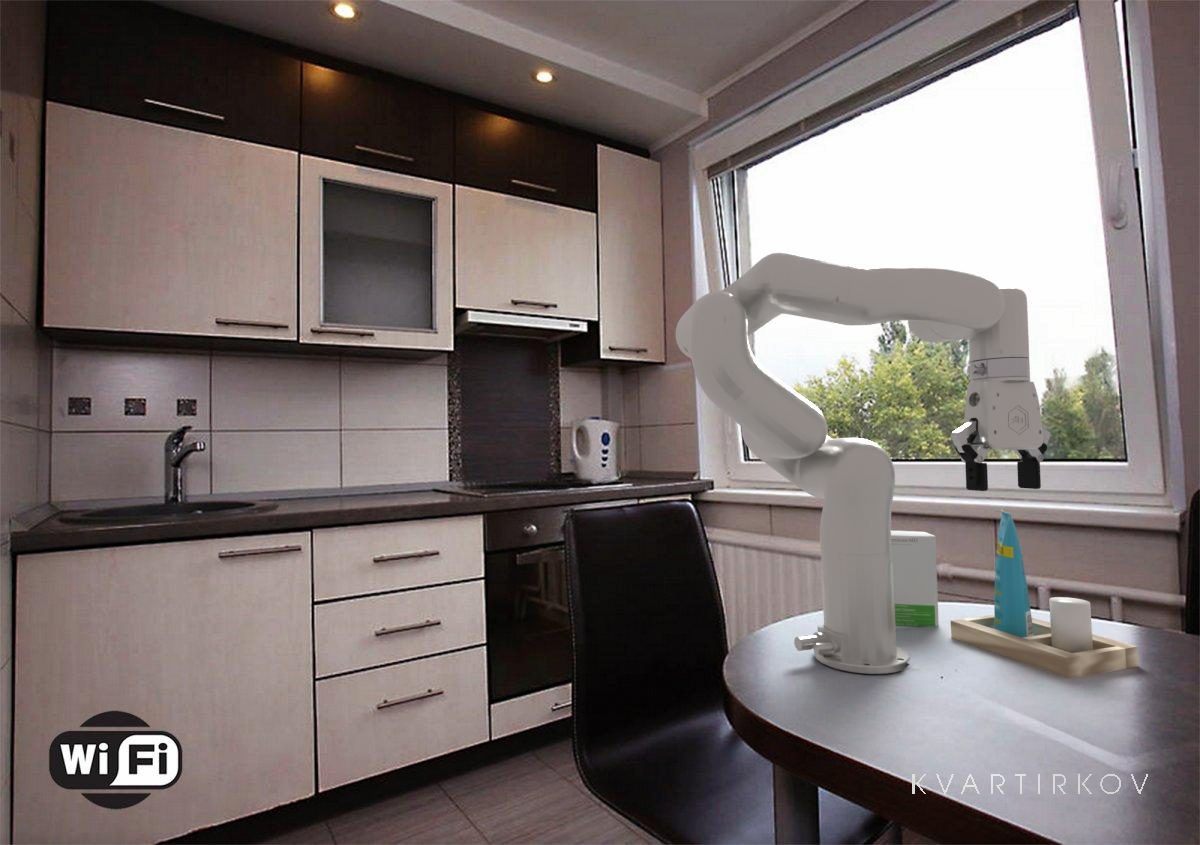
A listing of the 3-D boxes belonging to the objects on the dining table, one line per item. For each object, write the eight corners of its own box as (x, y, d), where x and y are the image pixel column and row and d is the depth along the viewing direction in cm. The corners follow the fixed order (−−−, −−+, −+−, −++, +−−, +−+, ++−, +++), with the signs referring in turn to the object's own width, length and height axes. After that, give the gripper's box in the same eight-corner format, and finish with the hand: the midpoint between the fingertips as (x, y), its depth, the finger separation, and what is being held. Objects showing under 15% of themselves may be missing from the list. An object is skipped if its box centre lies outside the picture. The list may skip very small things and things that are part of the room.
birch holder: (1068, 686, 78) (1066, 657, 78) (951, 643, 96) (950, 620, 96) (1139, 674, 82) (1137, 646, 82) (1013, 635, 99) (1012, 612, 99)
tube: (989, 634, 96) (982, 508, 97) (1025, 637, 95) (1018, 508, 95) (1002, 650, 89) (995, 513, 90) (1042, 653, 88) (1034, 514, 88)
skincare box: (885, 630, 103) (881, 535, 104) (877, 619, 110) (873, 529, 110) (941, 632, 101) (937, 535, 102) (930, 621, 108) (925, 529, 108)
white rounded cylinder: (1076, 669, 81) (1072, 606, 81) (1044, 658, 85) (1041, 598, 86) (1102, 665, 82) (1098, 603, 83) (1069, 654, 87) (1066, 596, 87)
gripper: (973, 369, 88) (977, 493, 87) (1068, 371, 92) (1073, 489, 92) (931, 375, 95) (935, 489, 94) (1021, 377, 99) (1026, 486, 99)
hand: (1003, 489), depth 93 cm, fingers open, 9 cm apart
